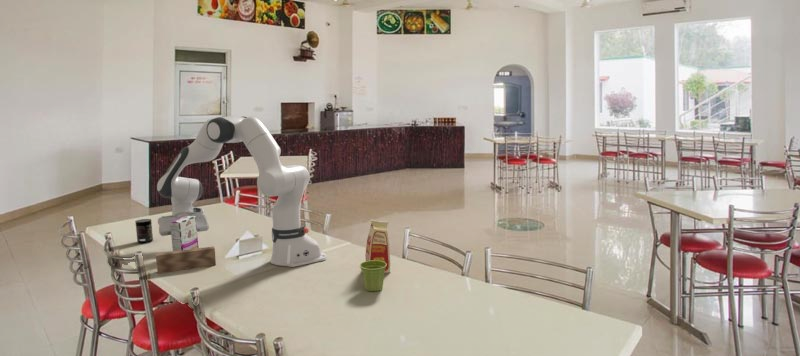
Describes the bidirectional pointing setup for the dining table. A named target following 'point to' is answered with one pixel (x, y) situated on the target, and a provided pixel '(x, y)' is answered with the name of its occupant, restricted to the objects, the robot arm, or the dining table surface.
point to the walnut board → (185, 259)
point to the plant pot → (373, 274)
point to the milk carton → (378, 244)
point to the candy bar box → (184, 233)
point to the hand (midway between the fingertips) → (185, 240)
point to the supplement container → (144, 231)
